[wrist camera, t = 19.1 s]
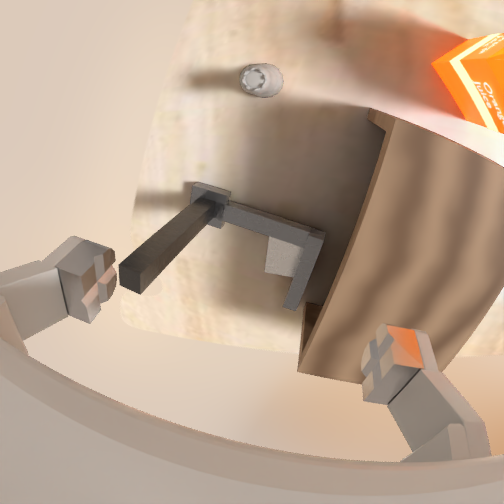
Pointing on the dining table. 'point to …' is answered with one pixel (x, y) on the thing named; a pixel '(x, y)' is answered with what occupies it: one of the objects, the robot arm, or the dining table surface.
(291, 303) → the hook tool
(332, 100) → the dining table surface
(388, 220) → the low cabinet
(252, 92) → the rook chess piece
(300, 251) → the block
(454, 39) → the dining table surface
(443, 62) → the orange juice
